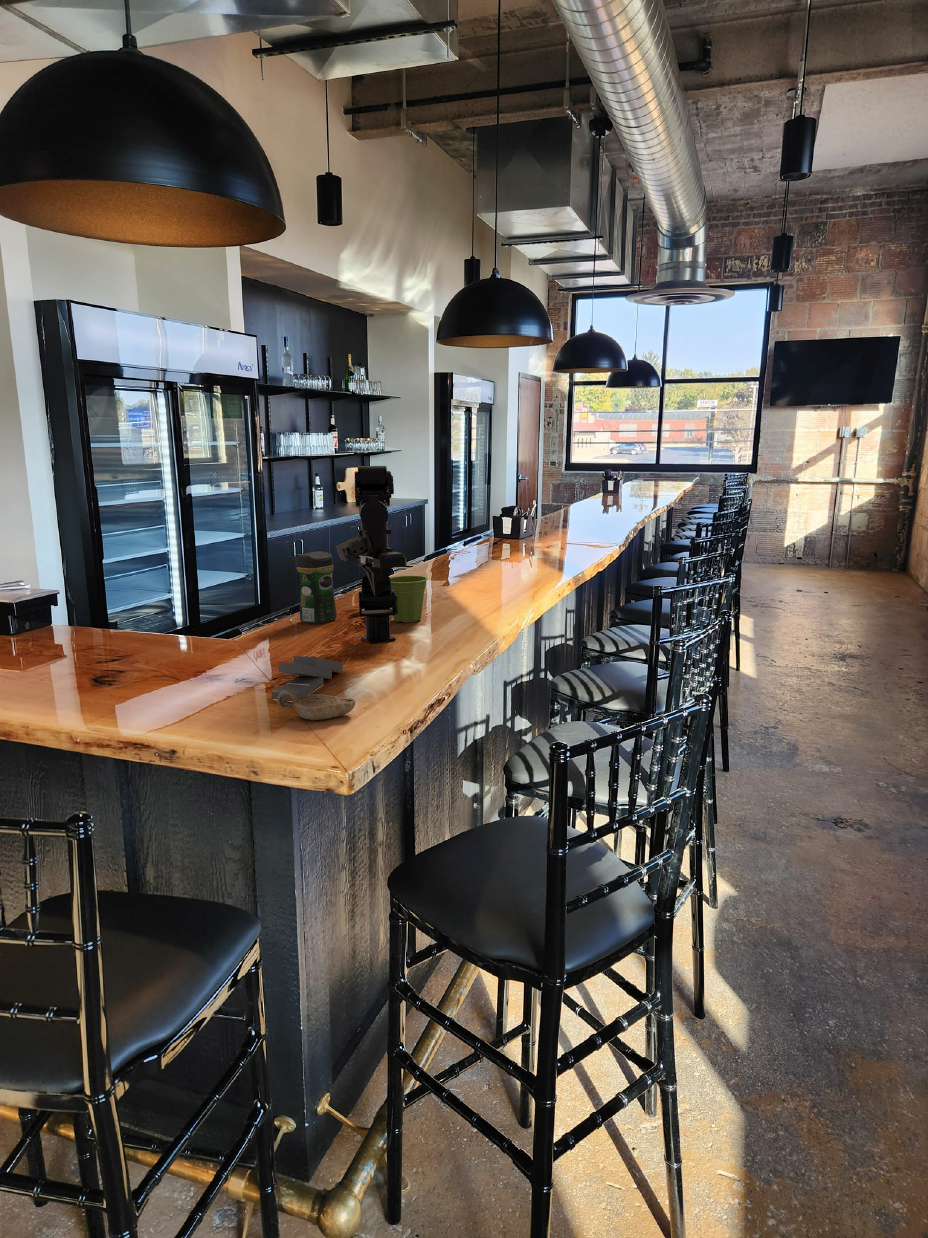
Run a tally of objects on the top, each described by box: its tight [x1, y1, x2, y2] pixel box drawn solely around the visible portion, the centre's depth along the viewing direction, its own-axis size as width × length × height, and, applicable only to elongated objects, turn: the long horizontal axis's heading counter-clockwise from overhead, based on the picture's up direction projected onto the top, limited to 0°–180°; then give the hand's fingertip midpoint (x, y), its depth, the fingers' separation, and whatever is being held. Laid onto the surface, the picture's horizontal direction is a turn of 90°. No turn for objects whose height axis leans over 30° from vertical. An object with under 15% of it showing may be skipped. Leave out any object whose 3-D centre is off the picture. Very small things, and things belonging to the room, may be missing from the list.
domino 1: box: [277, 662, 333, 680], centre depth 152 cm, size 2×5×11 cm
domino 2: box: [270, 675, 324, 701], centre depth 147 cm, size 2×5×11 cm
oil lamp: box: [276, 690, 356, 721], centre depth 134 cm, size 13×8×5 cm, turn 90°
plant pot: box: [389, 575, 429, 624], centre depth 208 cm, size 12×12×11 cm
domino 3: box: [292, 655, 344, 673], centre depth 156 cm, size 2×5×11 cm
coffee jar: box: [296, 550, 338, 625], centre depth 208 cm, size 10×8×19 cm
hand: (376, 595), depth 174 cm, fingers closed
